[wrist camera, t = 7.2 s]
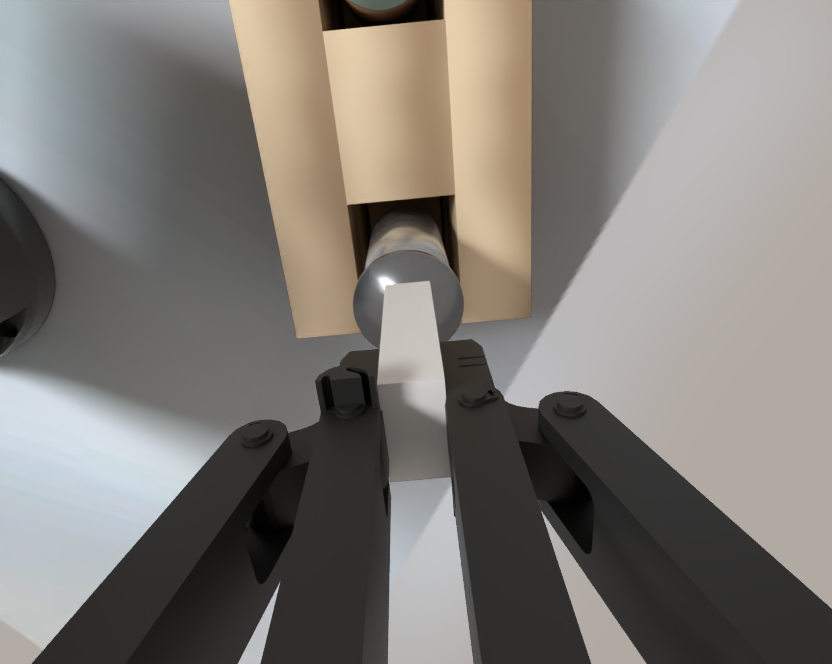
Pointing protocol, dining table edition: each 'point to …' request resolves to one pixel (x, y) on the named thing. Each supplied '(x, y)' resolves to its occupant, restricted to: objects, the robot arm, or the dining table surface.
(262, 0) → the oak block
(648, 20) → the dining table surface
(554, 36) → the dining table surface
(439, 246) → the metal pin
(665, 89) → the dining table surface
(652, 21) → the dining table surface
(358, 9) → the walnut peg
